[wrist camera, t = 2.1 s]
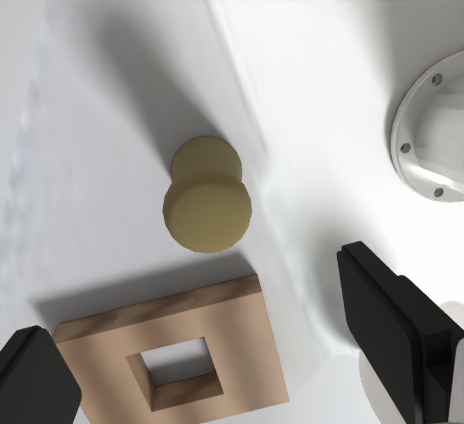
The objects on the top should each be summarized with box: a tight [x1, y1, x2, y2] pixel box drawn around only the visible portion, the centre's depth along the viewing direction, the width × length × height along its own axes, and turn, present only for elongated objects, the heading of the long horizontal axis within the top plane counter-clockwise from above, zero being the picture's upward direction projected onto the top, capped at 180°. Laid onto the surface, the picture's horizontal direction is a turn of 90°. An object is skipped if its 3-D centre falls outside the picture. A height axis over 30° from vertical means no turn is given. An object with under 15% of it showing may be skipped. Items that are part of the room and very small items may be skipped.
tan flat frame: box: [52, 274, 289, 424], centre depth 34 cm, size 20×14×3 cm
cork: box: [163, 136, 252, 253], centre depth 23 cm, size 6×6×11 cm
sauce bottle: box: [359, 348, 406, 424], centre depth 28 cm, size 8×8×18 cm
